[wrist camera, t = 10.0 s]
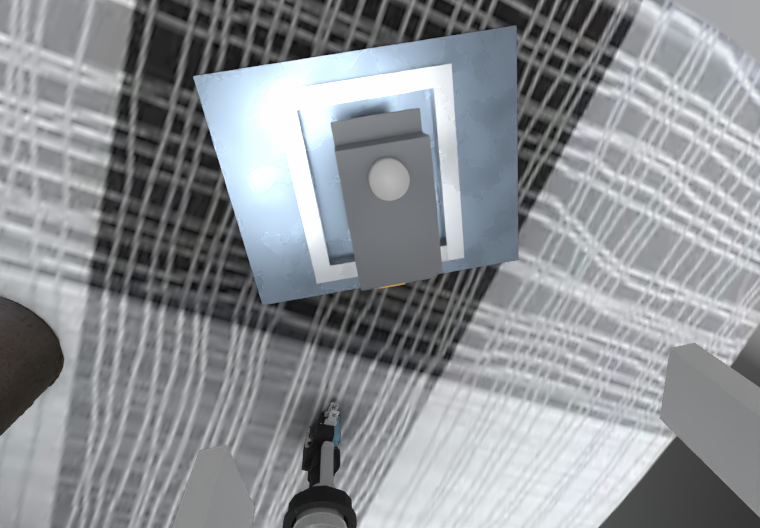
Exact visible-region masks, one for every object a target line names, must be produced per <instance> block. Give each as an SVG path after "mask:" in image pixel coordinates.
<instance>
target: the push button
mask: <svg viewBox="0 0 760 528" xmlns="http://www.w3.org/2000/svg"><path fill="white" fill-rule="evenodd" d="M332 406H336V408H335V409H332ZM338 408H339V404H338V403H334V402H332V403H331V404H330V407H329V409H328V411H326V412H325V413H321V415H320V418H319V420H317V421H316V424H315V428H314V433H313V436H312V438H310V437H309V435H310V427H309V428H308V430H307V433H306V441H305V446H304V450H303V462H302V470H305V471H308V481H309V482H310V484H309V489H306V490H304V491H302V492H300V493H298V494H296V495H295V496H294V497H293V498H292V500H291V501H290V503H289V508H288V512H287V513H286V515H285V517H284V521H283V528H356V525H357V523H356V514H355V512H354V510H353V509H352V502H351V498H350V497H349V496H348V495H347V494H346V492H344V491H342V490H339V489H336V488H335V487H334V484H333V477H334V475H335V473H336V472H337V471H338V469H339V467H340V449H339V447H340V444H341V443H340V442H341V433H340V416H338V415H339V413H340V412H339V411H337V410H338ZM296 516H297V517H296Z"/></svg>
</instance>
